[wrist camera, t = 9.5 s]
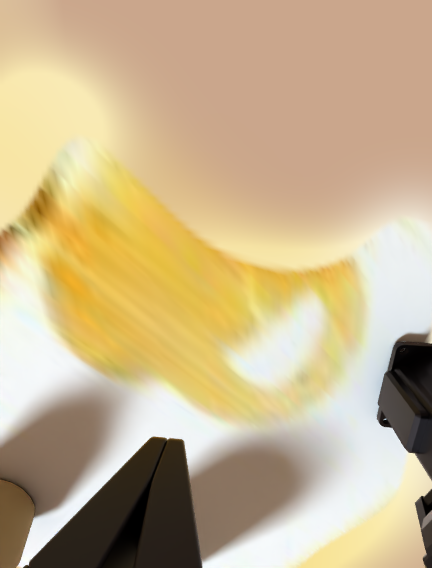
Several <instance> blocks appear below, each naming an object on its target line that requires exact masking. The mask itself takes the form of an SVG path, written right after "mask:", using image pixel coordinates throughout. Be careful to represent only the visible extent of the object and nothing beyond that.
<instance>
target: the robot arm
mask: <svg viewBox="0 0 432 568" xmlns="http://www.w3.org/2000/svg"><path fill="white" fill-rule="evenodd" d="M402 348H405V350H404V351H402V352H400V350H401V349H402ZM378 405H379V410H378V414H377V420H378V421H379V423H380V425H381V426H383V427H390V428H393V430H394V431H395V433H396V435H397V436H398V438H399V440H400V441H401V443H402V445H403V446H404V448H405V449H406V450H407V451H408V452H409V453H415V455H416V456H417V458H418V459H419V461H420V463H421V464H422V466H423V467H424V469H425V471H426V472H427V474H428V476H429V477H430V479H431V480H432V344H430V343H415V342H398V343H396V344H395V345H394V347H393V350H392V354H391V358H390V363H389V367H388V371H387V372H386V373H385V374H384V378H383V383H382V387H381V391H380V395H379V400H378ZM385 418H387V419H386V420H384V419H385ZM415 505H416V510H417V514H418V519H419V523H420V527H421V532H422V537H423V542H424V546H425V550H426V553H427V554H426V555H425V556H424V557H423V561H424V565H425V568H432V489H431V490H430V491H429V492H428V493H427V494H426V495H425V496H421V497H420V498H419V499H418V500H417V501H416V502H415ZM23 568H202V561H201V554H200V547H199V540H198V533H197V527H196V520H195V513H194V506H193V499H192V493H191V486H190V479H189V472H188V465H187V458H186V452H185V445H184V441H183V440H182V439H173V438H170V439H168V440H167V439H166V438H163V437H151V438H150V439H149V440H148V441H147V442H146V443H145V444H144V445H143V446H142V447H141V448H140V449H139V450H138V451H137V452H136V453H135V454H134V455H133V456H132V457H131V458H130V459H129V460H128V461H127V462H126V463H125V464H124V465H123V466H122V467H121V469H120V470H119V471H118V472H117V473H116V474H115V475H114V476H113V477H112V478H111V479H110V480H109V481H108V482H107V483H106V484H105V485H104V486H103V487H102V488H101V489H100V490H99V491H98V492H97V493H96V494H95V495H94V496H93V497H92V498H91V499H90V500H89V501H88V502H87V503H86V504H85V505H84V506H83V507H82V508H81V509H80V510H79V511H78V512H77V513H76V514H75V515H74V516H73V518H72V519H71V520H70V521H69V522H68V523H67V524H66V525H65V526H64V527H63V528H62V529H61V530H60V531H59V532H58V533H57V534H56V535H55V536H54V537H53V538H52V539H51V540H50V541H49V542H48V543H47V544H46V545H45V546H44V547H43V548H42V549H41V550H40V551H39V552H38V553H37V554H36V555H35V556H34V557H33V558H32V559H31V560H30V562H29V566H28V565H25V566H24V567H23Z"/></svg>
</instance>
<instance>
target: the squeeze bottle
mask: <svg viewBox="0 0 432 568" xmlns="http://www.w3.org/2000/svg"><path fill="white" fill-rule="evenodd" d="M34 515H35V506H34V504H33V502H32V500H31V497H30V496H29V495H28V494H27V493H26V492H25V491H24V490H23V489H22V488H20V487H18V486H17V485H15V484H13V483H11V482H8V481H4V480H0V568H16V567H17V565H18V564H19V562H20V560H21V557H22V553H23V550H24V547H25V544H26V541H27V537H28V534H29V531H30V528H31V525H32V521H33V518H34Z"/></svg>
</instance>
